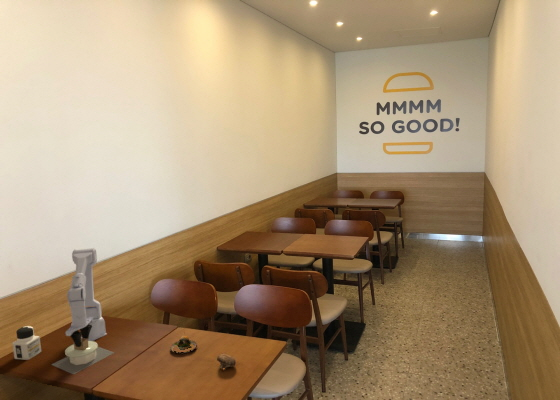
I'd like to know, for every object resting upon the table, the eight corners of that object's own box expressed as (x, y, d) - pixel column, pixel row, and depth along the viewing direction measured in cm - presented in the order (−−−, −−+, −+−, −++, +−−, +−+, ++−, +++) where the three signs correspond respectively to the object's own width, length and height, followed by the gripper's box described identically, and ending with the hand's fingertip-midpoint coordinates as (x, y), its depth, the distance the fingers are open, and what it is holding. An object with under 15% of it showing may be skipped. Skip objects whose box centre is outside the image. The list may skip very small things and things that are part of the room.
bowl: (86, 350, 196) (85, 342, 195) (100, 356, 191) (99, 347, 190) (66, 360, 188) (65, 352, 187) (80, 366, 182) (79, 358, 182)
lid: (80, 341, 197) (79, 331, 196) (104, 344, 193) (103, 334, 192) (58, 355, 184) (56, 345, 184) (83, 359, 181) (82, 348, 180)
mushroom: (217, 368, 173) (222, 352, 175) (211, 366, 180) (216, 351, 182) (235, 374, 175) (239, 358, 177) (228, 372, 182) (233, 357, 184)
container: (29, 360, 190) (25, 332, 188) (14, 359, 191) (10, 331, 189) (41, 351, 197) (38, 324, 195) (27, 350, 199) (23, 323, 197)
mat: (92, 345, 202) (92, 344, 202) (114, 353, 193) (114, 352, 193) (51, 365, 185) (51, 364, 185) (73, 375, 177) (73, 374, 177)
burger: (165, 353, 193) (163, 338, 191) (180, 341, 203) (179, 326, 202) (187, 358, 188) (186, 342, 187) (202, 345, 199) (201, 330, 198)
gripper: (83, 307, 194) (86, 335, 196) (58, 320, 180) (61, 351, 182) (96, 308, 192) (99, 337, 194) (72, 322, 178) (75, 353, 180)
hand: (81, 344), depth 188 cm, fingers open, 4 cm apart
